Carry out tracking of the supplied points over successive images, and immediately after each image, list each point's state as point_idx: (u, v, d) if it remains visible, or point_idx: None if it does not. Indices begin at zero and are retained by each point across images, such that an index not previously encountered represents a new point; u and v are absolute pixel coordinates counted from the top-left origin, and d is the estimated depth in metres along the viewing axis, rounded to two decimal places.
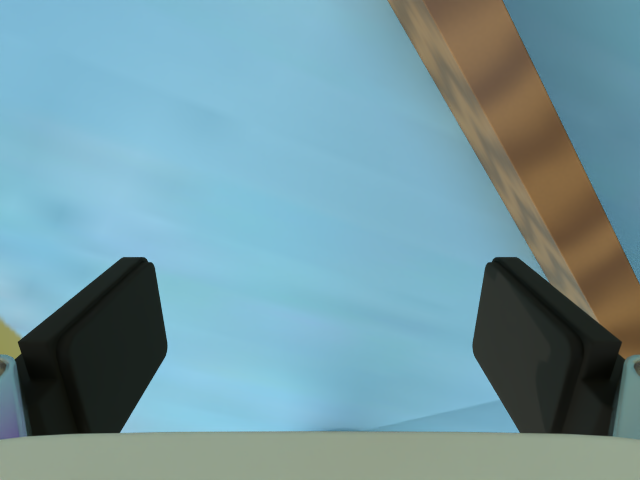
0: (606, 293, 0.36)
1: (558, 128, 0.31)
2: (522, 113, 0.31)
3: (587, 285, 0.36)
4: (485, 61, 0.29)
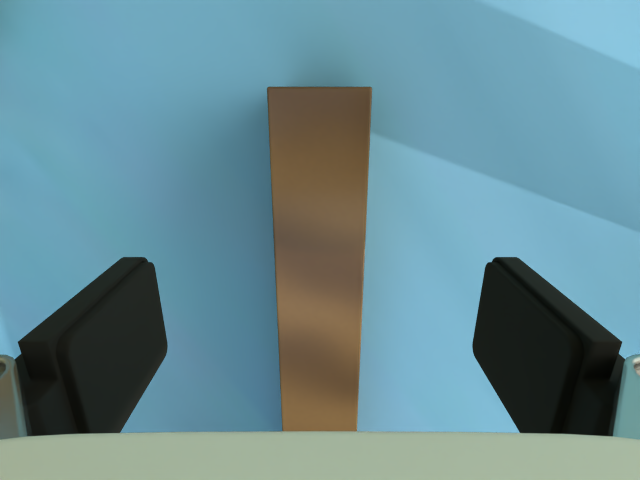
0: None
1: None
2: None
3: None
4: None
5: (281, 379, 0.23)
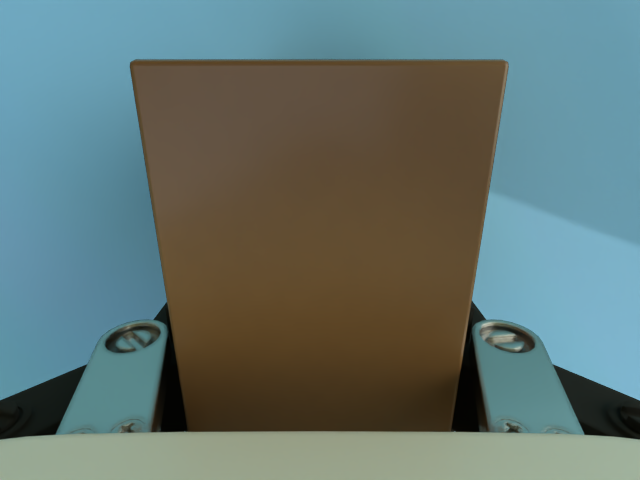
0: None
1: None
2: None
3: None
4: None
5: None
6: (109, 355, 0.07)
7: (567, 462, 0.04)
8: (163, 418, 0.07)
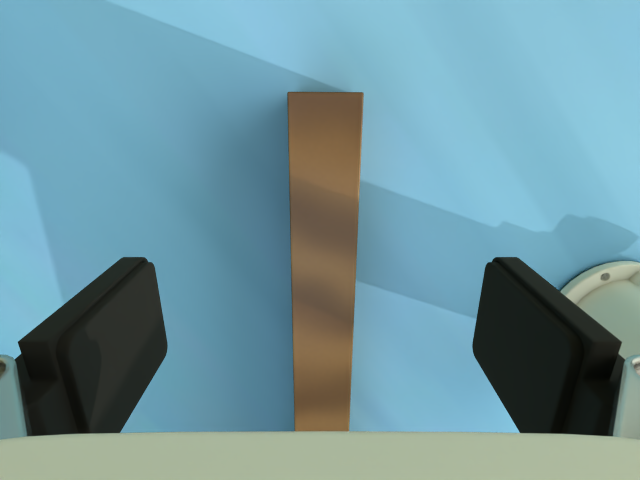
0: (329, 379, 0.31)
1: None
2: None
3: (341, 397, 0.32)
4: None
5: (293, 318, 0.29)
6: None
7: (567, 462, 0.04)
8: None
